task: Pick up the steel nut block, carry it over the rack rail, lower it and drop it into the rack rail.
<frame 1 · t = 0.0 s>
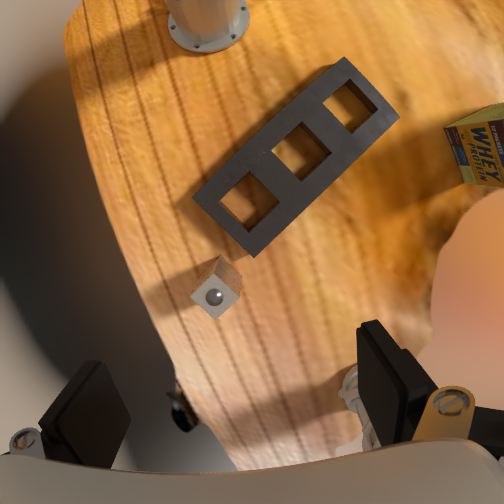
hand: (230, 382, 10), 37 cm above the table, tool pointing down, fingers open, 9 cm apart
protein box: (479, 141, 43), on the table
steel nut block: (221, 275, 49), on the table
grey statue: (370, 374, 54), on the table
rack rail: (298, 152, 44), on the table
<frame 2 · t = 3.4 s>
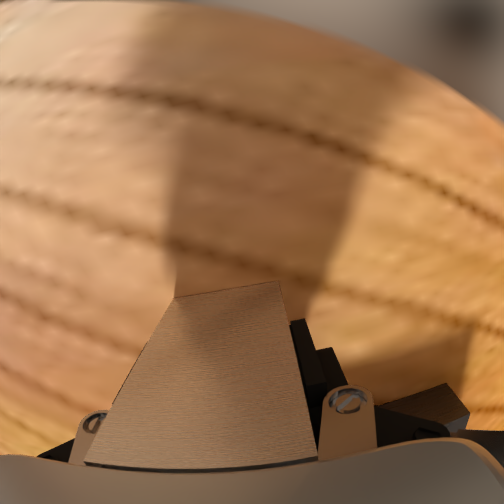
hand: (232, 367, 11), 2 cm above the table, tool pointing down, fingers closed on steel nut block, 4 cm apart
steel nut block: (235, 336, 14), on the table, touching gripper
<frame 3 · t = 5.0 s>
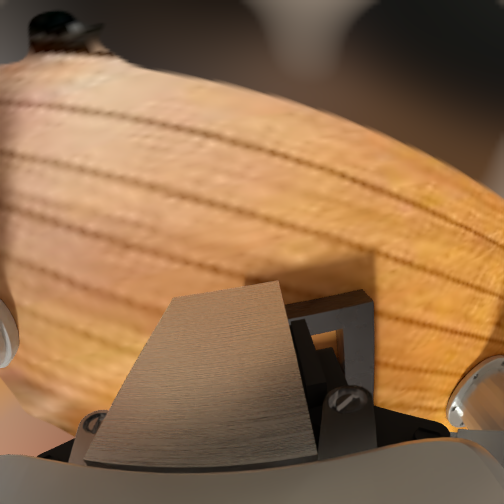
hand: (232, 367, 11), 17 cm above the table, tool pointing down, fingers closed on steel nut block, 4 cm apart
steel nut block: (235, 336, 14), point 15 cm above the table, touching gripper
rack rail: (315, 414, 33), on the table
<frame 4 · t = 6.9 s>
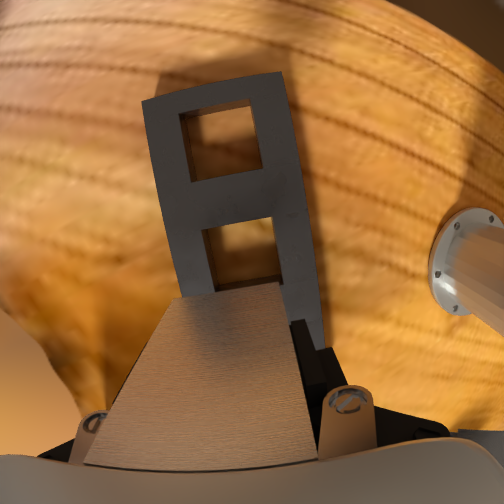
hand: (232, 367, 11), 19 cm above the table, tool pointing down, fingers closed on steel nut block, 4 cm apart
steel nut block: (235, 337, 14), point 17 cm above the table, touching gripper
rack rail: (243, 249, 30), on the table
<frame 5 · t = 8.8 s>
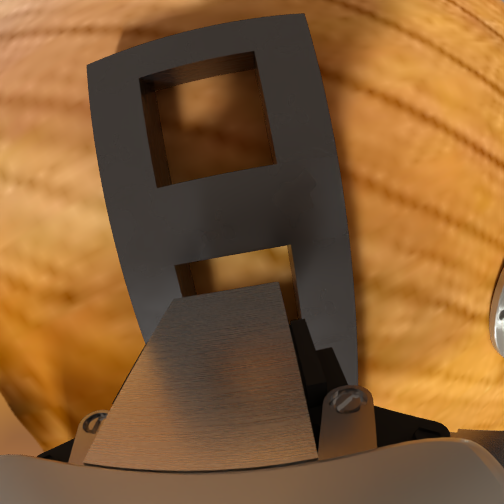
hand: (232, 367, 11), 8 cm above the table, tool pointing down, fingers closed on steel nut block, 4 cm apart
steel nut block: (235, 337, 14), point 6 cm above the table, touching gripper
rack rail: (244, 289, 20), on the table
when the fingers open (4 cm above the table, at t = 10.7 s): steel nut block drops 2 cm, resting in rack rail.
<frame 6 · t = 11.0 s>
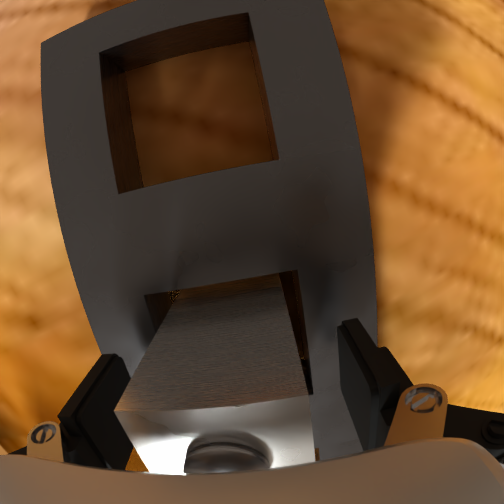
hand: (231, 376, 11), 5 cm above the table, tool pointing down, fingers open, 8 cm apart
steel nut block: (238, 320, 15), resting in rack rail
rack rail: (236, 319, 15), on the table
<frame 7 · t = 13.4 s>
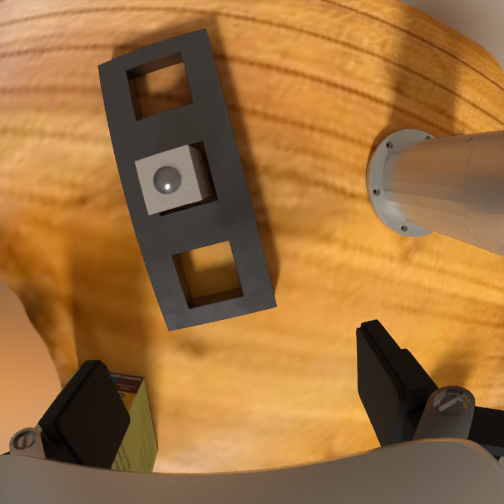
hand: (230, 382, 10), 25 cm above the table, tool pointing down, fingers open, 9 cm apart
protein box: (119, 411, 40), on the table
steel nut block: (186, 179, 33), resting in rack rail
rack rail: (185, 178, 33), on the table
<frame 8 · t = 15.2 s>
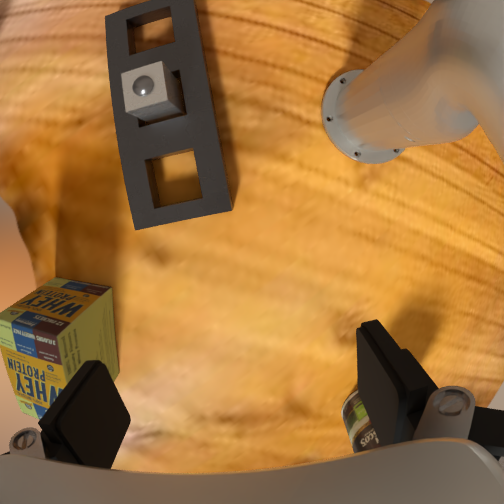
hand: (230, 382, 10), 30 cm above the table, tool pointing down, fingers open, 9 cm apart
protein box: (86, 326, 44), on the table
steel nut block: (166, 103, 36), resting in rack rail
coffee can: (368, 405, 47), on the table
rack rail: (165, 103, 36), on the table
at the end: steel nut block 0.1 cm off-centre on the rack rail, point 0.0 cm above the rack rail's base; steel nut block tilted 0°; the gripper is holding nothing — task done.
